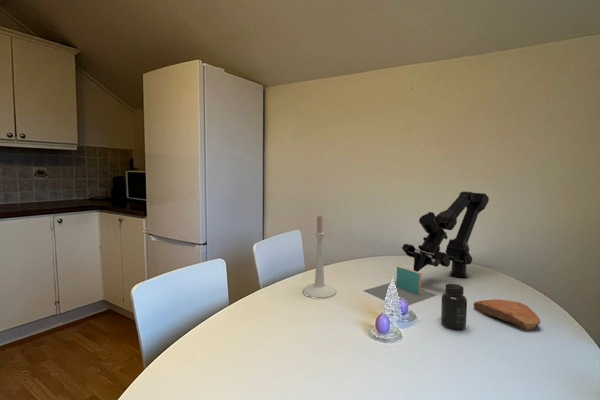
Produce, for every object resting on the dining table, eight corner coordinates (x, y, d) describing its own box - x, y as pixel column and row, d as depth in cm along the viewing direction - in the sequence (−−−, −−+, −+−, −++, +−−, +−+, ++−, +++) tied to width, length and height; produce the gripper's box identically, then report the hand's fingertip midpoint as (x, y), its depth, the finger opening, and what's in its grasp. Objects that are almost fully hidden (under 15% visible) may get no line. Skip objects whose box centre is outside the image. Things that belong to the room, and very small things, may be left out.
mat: (398, 281, 130) (398, 280, 130) (437, 296, 115) (437, 295, 115) (362, 291, 119) (362, 290, 119) (401, 309, 104) (401, 308, 104)
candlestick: (297, 295, 116) (297, 215, 113) (309, 284, 128) (309, 211, 125) (330, 301, 111) (331, 217, 108) (340, 288, 123) (340, 212, 120)
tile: (398, 285, 124) (399, 266, 124) (420, 293, 116) (421, 273, 115) (396, 286, 123) (396, 266, 123) (418, 294, 115) (418, 273, 114)
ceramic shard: (494, 312, 91) (471, 298, 106) (498, 335, 90) (474, 318, 105) (548, 308, 89) (518, 294, 104) (552, 331, 89) (521, 314, 104)
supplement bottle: (463, 321, 96) (465, 283, 95) (467, 332, 90) (470, 292, 88) (439, 318, 98) (441, 281, 97) (441, 328, 92) (443, 289, 91)
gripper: (463, 257, 122) (445, 291, 117) (421, 247, 137) (404, 276, 132) (452, 240, 117) (433, 274, 112) (410, 231, 132) (392, 261, 127)
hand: (414, 271), depth 121 cm, fingers closed
